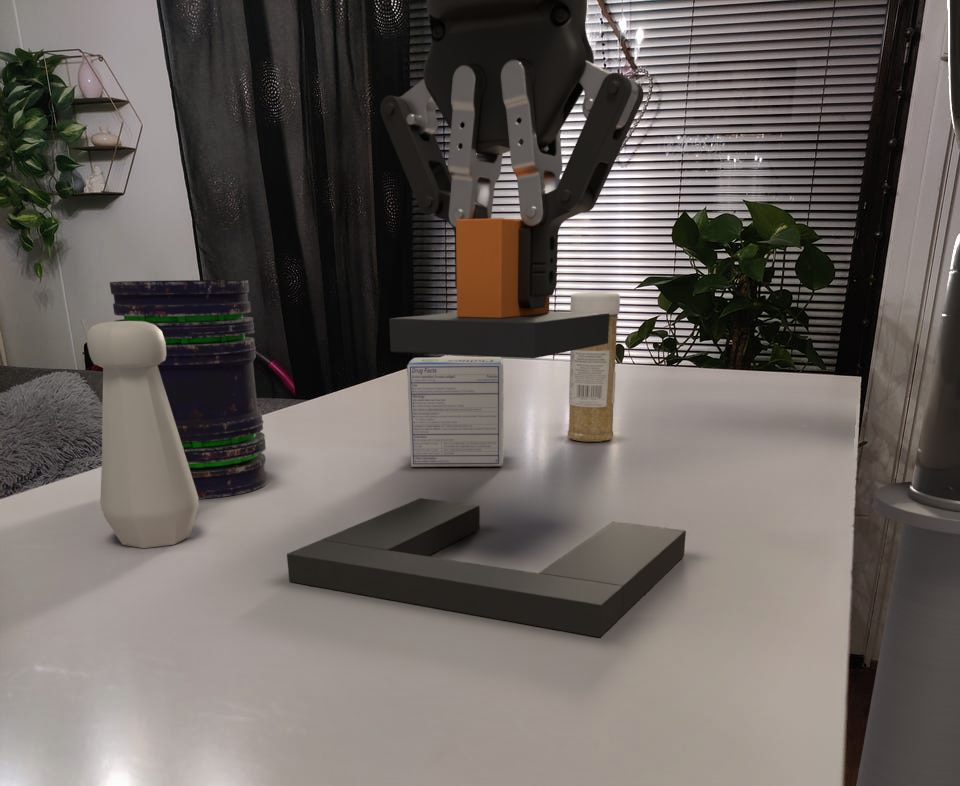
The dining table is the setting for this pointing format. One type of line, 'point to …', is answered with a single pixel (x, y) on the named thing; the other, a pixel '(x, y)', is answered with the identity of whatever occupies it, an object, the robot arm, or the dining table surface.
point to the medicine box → (456, 411)
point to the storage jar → (206, 376)
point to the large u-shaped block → (489, 568)
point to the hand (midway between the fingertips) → (504, 305)
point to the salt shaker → (140, 439)
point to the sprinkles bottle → (593, 373)
